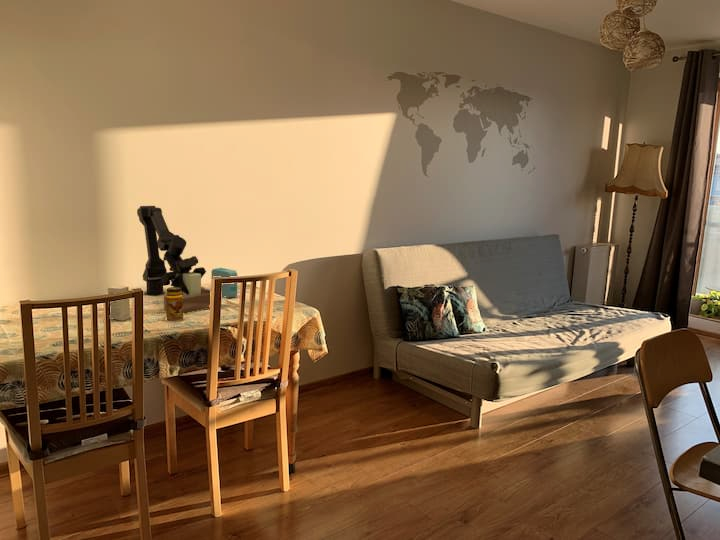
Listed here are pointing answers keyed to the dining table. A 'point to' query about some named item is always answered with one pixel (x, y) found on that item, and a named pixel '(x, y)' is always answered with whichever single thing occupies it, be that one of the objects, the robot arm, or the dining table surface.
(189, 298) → the walnut box
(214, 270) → the data package
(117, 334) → the dining table surface
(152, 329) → the dining table surface
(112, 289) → the skincare box
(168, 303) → the condiment
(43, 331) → the dining table surface
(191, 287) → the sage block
